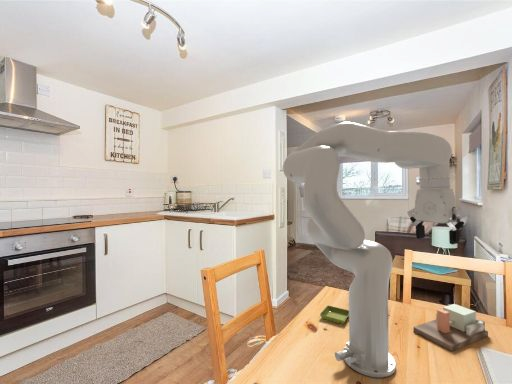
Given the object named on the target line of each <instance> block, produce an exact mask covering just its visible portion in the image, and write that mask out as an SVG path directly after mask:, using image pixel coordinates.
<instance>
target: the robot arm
mask: <svg viewBox="0 0 512 384" xmlns="http://www.w3.org/2000/svg"><path fill="white" fill-rule="evenodd" d="M452 155H453V149H452V146H451V144H450V142H449V141H448V140H447V139H445V138H444V137H442V136H439V135H435V134H433V133H428V132H416V131H397V130H383V129H380V128H375V127H372V126H368V125H365V124H364V125H363V124H361V123H357V122H351V121H343V122H339V123H337V124H333V125H330V126H328V127H325V128H323V129H320V130H319V131H318V132H316V133H314V134H313V135H312V136H311V137H310V138H308V139H307V140H306V141H304V142H303V143H302V144H301V145H299V146H298V147H297V148H295V149H294V150H292V152H290V153H289V154H288V155H287V156H286V158H285V159H284V162H283V166H282V167H283V168H282V170H283V174H284V176H285V177H286V179H287V180H288V181H290V182H292V183H294V184H303V207H304V210H305V211H306V213H307V214H308V216H309V219H308V221H307V226H306V229H307V233H308V236H309V238H310V240H311V241H312V242H313V243H314V245H315V246H316V247H317V248H318V249H319V250H320V251H321V253H323V255H324V256H325V257H326V258H327V259H328V260H329V261H330V262H331V263H332V264H334V265H335V266H336V267H338V268H340V269H342V270H345V271H348V272H350V273H352V274H354V278H353V280H352V281H351V283H350V286H349V289H348V310H349V316H348V341H347V342H345V347H344V348H343V350H339V351H336V352H334V357H335V359H336V361H338V362H340V361H344V362H345V363H346V364H347V365H348V367H350V368H351V369H352V370H354V371H356V372H357V373H359V374H362V375H363V376H368V377H371V378H387V377H389V376H392V375H393V374H394V373H395V372H396V367H397V364H396V360H395V358H394V357H393V356H392V355H391V353H390V351H389V349H390V346H389V345H390V343H389V337H390V335H389V333H390V332H389V287H390V278H391V273H392V269H393V256H392V254H391V253H392V252H391V251H390V250H389V249H388V248H387V247H386V246H384V245H383V244H381V243H379V242H377V241H374V240H369V239H366V234H365V229H364V227H363V226H362V224H361V222H360V221H359V219H358V218H357V217H356V216H355V215H354V213H353V212H352V211H351V210H350V208H349V207H348V206H347V205H346V203H345V202H344V200H342V198H341V196H340V194H339V191H338V178H339V174H340V167H341V163H340V158H341V157H345V158H352V159H357V160H362V161H366V162H367V161H368V162H372V163H383V164H384V163H394V164H395V165H396V166H397V167H399V168H401V169H405V170H406V169H407V170H411V169H412V170H413V169H419V171H418V172H419V180H417V181H416V185H417V186H419V189H417V190H416V194H415V197H414V198H415V200H414V208H412V209H410V210H408V211H407V215H408V216H409V220H410V221H411V222H412V223H413V225H414V226H415V235H416V239H418V240H419V239H425V238H426V234H425V233H426V231H425V229H426V228H425V225H424V224H425V222H426V223H435V224H446V225H447V226H448V227H449V228H450V230H449V231H448V235H449V237H448V238H449V239H448V241H449V244H450V245H456V244H459V243H460V241H461V240H460V237H461V234H460V230H462V228H464V227H465V226H466V225H467V222H469V220H470V218H471V215H469V214H468V213H466V212H464V211H462V210H460V209H458V207H457V206H458V205H457V201H456V196H455V192H454V189H453V188H451V174H450V173H451V171H450V159H451V158H452ZM458 217H459V218H460V219H459V221H458ZM457 221H458V222H457Z"/></svg>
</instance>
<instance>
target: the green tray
mask: <svg viewBox="0 0 512 384" xmlns="http://www.w3.org/2000/svg"><path fill="white" fill-rule="evenodd" d="M329 311H331V312H329ZM319 316H320V317H321V318H322V319H323V320H326V321H330V322H334V323H337V324H341V325H343V324H344V323H345V322H346V320H347V318H349V309H345V308H341V307H337V306H332V305H326V306H325V308H324V309H323V310H322V311H321V312H320V313H319Z"/></svg>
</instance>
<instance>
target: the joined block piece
mask: <svg viewBox="0 0 512 384" xmlns="http://www.w3.org/2000/svg"><path fill="white" fill-rule="evenodd" d="M476 313H477V311H476V310H473V309H470V308H467V307H465V306H462V305H459V304H456V303H453V304H449V305H447V306H446V305H445V306H442V308H440V309H437V310H436V314H437V330H439V331H441V332H443V333H448V332H450V326H452V327H454V328H457V329H459V330H461V331H463V332H465V331H466V326H468V325H471V324H474V323H476V319H477V318H476V317H477V315H476Z"/></svg>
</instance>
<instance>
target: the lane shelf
mask: <svg viewBox="0 0 512 384" xmlns="http://www.w3.org/2000/svg"><path fill="white" fill-rule="evenodd" d="M435 315H436V316H435V318H436V319H433V320H430V321H427V322H424V323H421V324H418V325H416V326H413V333H415V334H417V335H419V336H421V337H423V338H426V339H427V340H429V341H430V342H432V343H435V344H437V345H439V346H441V347H442V348H444V349H446V350H447V351H450V352H454V351H456V350H458V349H461V348H463V347H465V346H468V345H471V344H474V343H475V342H478V341H479V340H482V339H485V338H487V337H489V331H488V330H487V329H486V323H485V321H483V320H481V319H478V318H476V323H474V324H471V325H468V326H466V331H465V332H463V331H461V330H459V329H457V328H454V327H452V326H450V332H448V333H443V332H441V331H439V330H437V313H436V314H435Z"/></svg>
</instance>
